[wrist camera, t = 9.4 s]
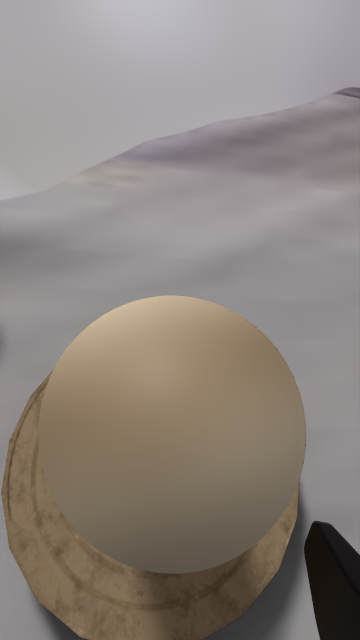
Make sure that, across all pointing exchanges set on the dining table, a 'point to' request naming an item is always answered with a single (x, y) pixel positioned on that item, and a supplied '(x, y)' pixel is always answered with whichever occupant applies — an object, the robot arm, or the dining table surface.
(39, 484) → the ringed beige coaster
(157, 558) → the dome-topped beige peg
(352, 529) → the dining table surface
